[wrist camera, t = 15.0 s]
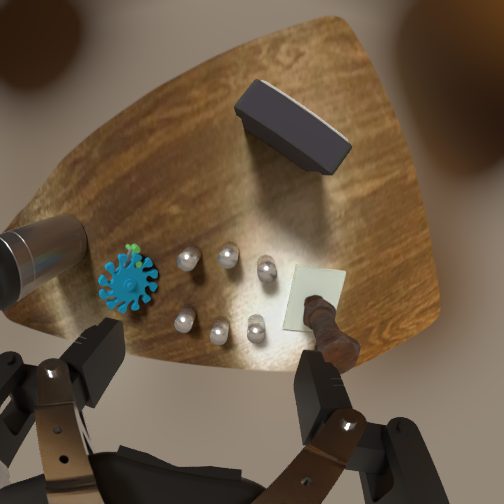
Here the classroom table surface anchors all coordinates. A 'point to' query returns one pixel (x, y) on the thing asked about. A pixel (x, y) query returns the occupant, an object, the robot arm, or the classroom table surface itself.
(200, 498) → the robot arm
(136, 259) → the gear
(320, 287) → the plate
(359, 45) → the classroom table surface
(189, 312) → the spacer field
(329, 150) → the dark grey slab
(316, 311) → the bolt
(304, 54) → the classroom table surface
